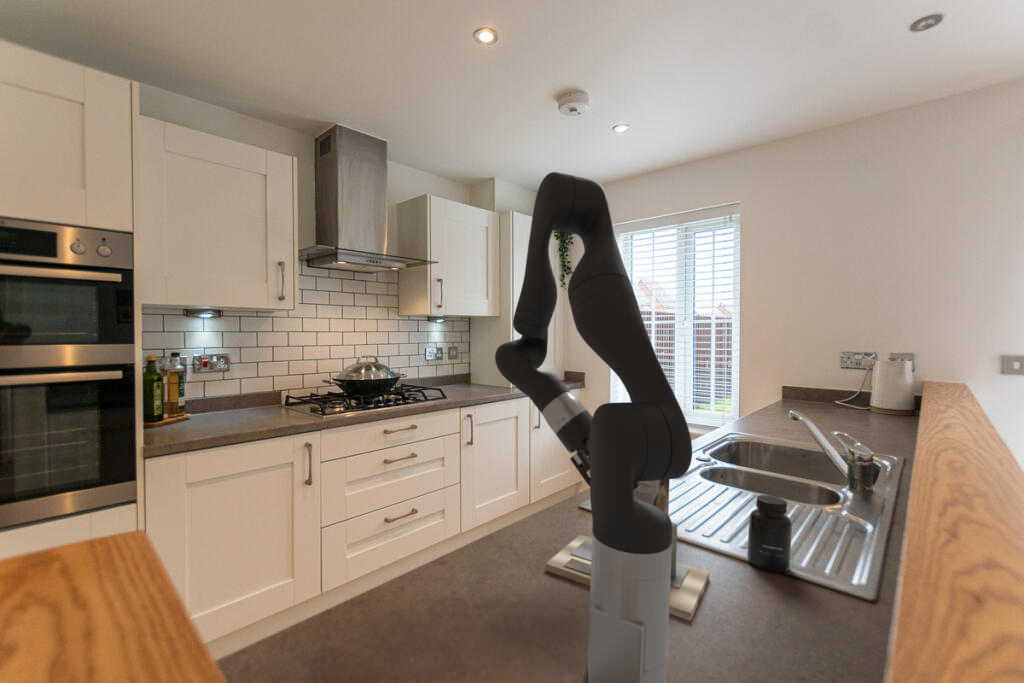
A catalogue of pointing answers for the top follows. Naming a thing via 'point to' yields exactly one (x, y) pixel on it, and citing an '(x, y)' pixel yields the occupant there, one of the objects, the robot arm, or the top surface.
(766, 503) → the supplement bottle
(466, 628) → the top surface
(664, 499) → the coffee box
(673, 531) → the green cylinder
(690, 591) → the board
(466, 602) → the top surface
